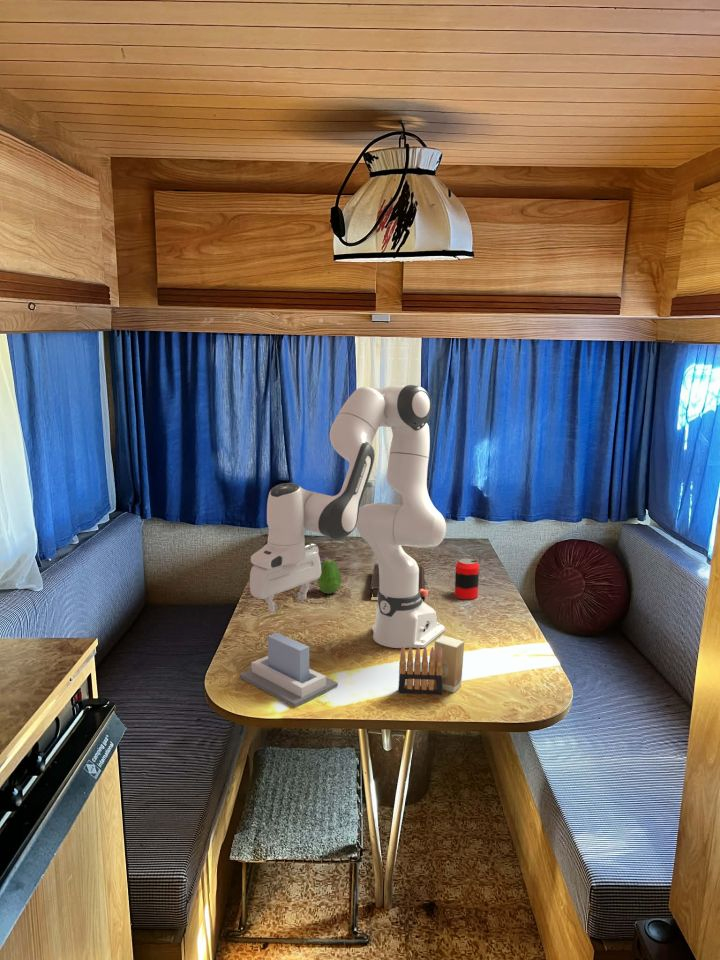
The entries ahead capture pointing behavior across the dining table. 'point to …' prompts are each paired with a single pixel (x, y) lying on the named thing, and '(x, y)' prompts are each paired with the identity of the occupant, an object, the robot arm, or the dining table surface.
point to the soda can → (466, 579)
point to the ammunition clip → (420, 673)
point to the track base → (287, 683)
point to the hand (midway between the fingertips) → (287, 605)
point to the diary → (375, 580)
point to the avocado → (329, 577)
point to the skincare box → (450, 662)
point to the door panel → (288, 657)
